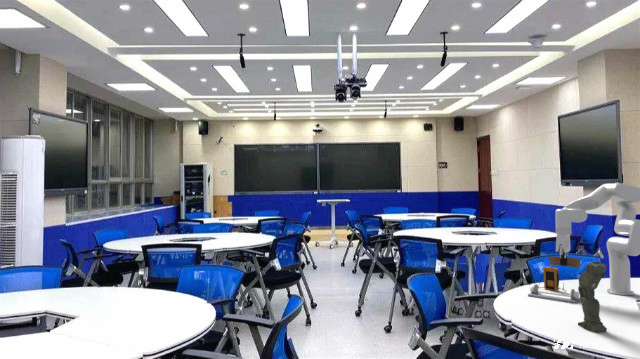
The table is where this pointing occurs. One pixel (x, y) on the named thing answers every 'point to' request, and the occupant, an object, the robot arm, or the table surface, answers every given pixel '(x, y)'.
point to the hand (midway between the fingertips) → (564, 264)
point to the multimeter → (551, 278)
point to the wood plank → (570, 261)
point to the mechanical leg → (591, 296)
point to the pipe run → (554, 295)
